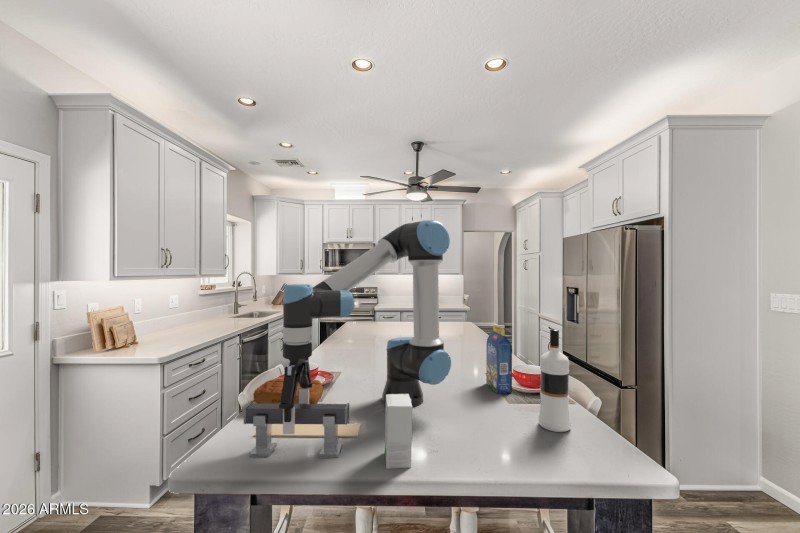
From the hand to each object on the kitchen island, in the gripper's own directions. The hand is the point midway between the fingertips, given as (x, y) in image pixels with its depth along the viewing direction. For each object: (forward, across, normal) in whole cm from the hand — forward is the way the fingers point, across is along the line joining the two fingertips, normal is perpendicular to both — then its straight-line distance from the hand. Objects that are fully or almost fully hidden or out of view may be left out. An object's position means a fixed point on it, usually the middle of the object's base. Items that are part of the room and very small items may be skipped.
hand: (296, 422), depth 96 cm
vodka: (+8, -16, +75) cm, 77 cm away
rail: (0, 0, 0) cm, 0 cm away
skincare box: (+8, +4, +27) cm, 29 cm away
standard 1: (+8, 0, -9) cm, 12 cm away
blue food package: (+7, -51, +67) cm, 85 cm away
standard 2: (+8, 0, +9) cm, 12 cm away
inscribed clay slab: (+8, -32, -12) cm, 35 cm away
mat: (+8, -12, 0) cm, 14 cm away
